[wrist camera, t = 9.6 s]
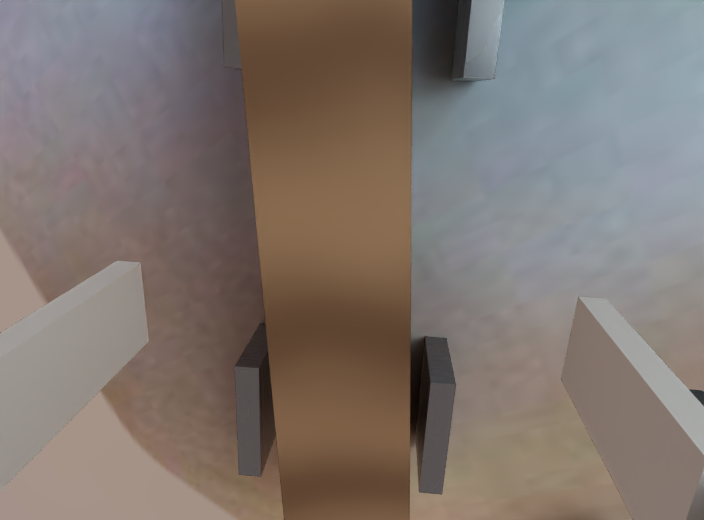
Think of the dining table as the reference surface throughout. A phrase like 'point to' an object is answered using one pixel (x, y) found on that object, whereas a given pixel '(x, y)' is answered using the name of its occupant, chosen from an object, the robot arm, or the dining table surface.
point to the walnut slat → (334, 245)
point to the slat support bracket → (469, 51)
